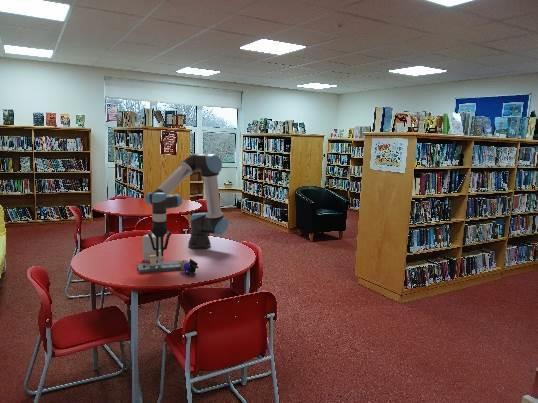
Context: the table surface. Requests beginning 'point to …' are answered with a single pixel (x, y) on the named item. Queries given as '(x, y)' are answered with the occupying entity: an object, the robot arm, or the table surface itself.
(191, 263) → the character figurine
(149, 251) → the supplement box
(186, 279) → the table surface
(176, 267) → the panel
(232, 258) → the table surface
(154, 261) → the block
